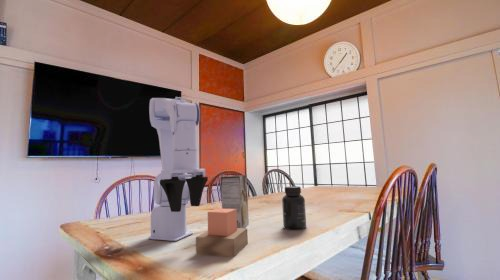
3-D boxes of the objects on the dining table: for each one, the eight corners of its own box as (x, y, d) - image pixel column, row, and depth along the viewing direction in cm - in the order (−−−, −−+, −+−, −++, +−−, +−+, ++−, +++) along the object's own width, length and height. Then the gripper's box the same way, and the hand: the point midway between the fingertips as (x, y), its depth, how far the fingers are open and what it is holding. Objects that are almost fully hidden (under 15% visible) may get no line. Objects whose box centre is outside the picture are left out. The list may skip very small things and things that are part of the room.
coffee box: (230, 223, 83) (228, 175, 85) (249, 223, 82) (247, 174, 84) (222, 230, 74) (220, 176, 76) (242, 230, 73) (240, 175, 75)
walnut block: (196, 256, 54) (195, 237, 55) (214, 243, 63) (213, 227, 63) (234, 258, 52) (233, 238, 52) (247, 245, 60) (247, 228, 61)
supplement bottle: (278, 228, 74) (276, 187, 76) (292, 223, 79) (290, 185, 80) (297, 231, 70) (294, 188, 71) (311, 226, 74) (308, 186, 75)
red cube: (207, 234, 56) (207, 212, 57) (218, 229, 61) (218, 208, 62) (227, 235, 55) (227, 212, 55) (237, 230, 59) (236, 209, 60)
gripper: (179, 148, 52) (180, 214, 50) (214, 151, 65) (216, 204, 64) (153, 150, 55) (153, 214, 53) (192, 153, 68) (193, 203, 66)
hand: (186, 208), depth 59 cm, fingers open, 7 cm apart
